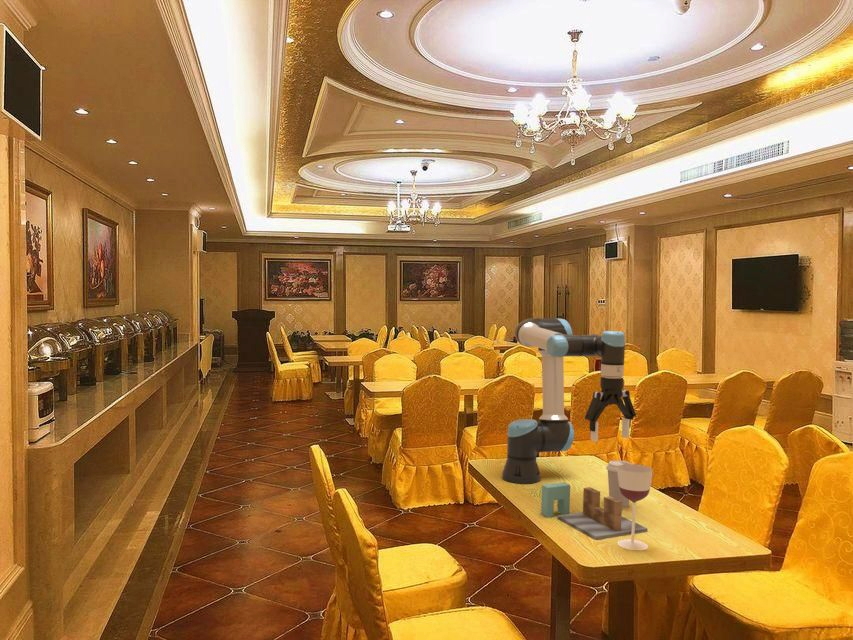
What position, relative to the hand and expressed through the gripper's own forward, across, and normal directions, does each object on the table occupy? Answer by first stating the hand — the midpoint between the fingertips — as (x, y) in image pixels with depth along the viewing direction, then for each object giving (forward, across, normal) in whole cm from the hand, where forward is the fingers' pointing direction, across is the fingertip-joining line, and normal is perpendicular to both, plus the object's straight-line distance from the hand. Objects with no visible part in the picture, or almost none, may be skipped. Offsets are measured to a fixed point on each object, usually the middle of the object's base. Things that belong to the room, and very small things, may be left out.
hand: (609, 439), depth 222 cm
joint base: (+25, -10, -8) cm, 28 cm away
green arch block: (+25, -17, +6) cm, 31 cm away
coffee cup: (+26, +10, +5) cm, 28 cm away
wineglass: (+25, -12, -25) cm, 38 cm away
